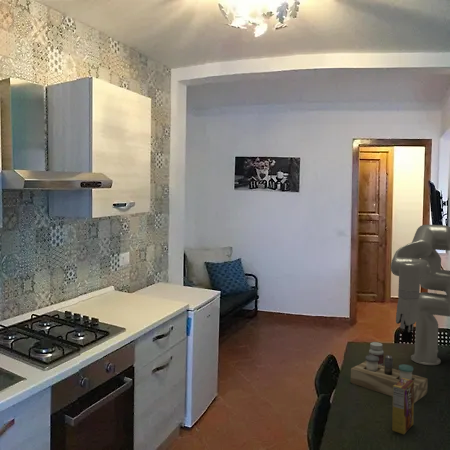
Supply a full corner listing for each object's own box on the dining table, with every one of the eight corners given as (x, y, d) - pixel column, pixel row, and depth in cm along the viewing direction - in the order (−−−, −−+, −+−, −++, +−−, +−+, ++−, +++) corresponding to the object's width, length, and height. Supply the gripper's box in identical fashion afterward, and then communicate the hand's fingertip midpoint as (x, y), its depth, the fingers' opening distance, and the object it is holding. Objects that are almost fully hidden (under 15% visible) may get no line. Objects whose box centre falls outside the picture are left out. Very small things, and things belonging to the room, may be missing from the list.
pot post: (386, 371, 191) (387, 354, 191) (393, 373, 189) (394, 356, 189) (382, 373, 189) (383, 356, 189) (390, 375, 187) (390, 358, 187)
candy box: (400, 420, 164) (402, 377, 162) (413, 424, 161) (415, 380, 160) (390, 430, 157) (392, 385, 156) (404, 435, 154) (405, 389, 153)
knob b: (401, 383, 188) (402, 363, 188) (414, 387, 185) (415, 366, 184) (395, 387, 185) (396, 366, 184) (408, 391, 181) (409, 370, 180)
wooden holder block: (365, 374, 203) (365, 360, 203) (426, 393, 185) (427, 378, 184) (350, 382, 195) (351, 368, 194) (413, 403, 176) (414, 387, 176)
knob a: (369, 373, 198) (369, 354, 198) (380, 376, 195) (381, 357, 194) (362, 376, 195) (363, 357, 194) (374, 380, 191) (375, 360, 190)
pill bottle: (386, 370, 209) (387, 344, 208) (376, 372, 205) (377, 347, 204) (374, 365, 214) (375, 340, 213) (365, 368, 210) (366, 343, 210)
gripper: (407, 289, 190) (406, 334, 192) (390, 296, 179) (388, 343, 181) (426, 292, 184) (425, 338, 186) (409, 299, 174) (408, 348, 176)
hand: (407, 341), depth 184 cm, fingers closed
